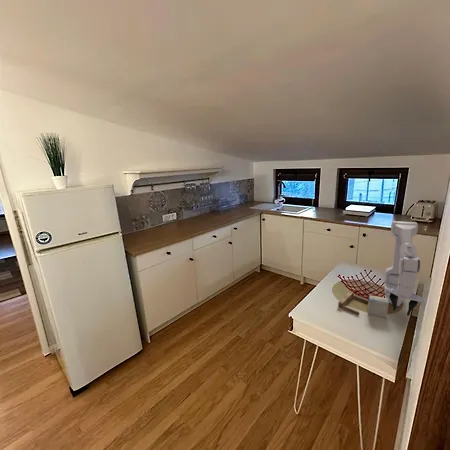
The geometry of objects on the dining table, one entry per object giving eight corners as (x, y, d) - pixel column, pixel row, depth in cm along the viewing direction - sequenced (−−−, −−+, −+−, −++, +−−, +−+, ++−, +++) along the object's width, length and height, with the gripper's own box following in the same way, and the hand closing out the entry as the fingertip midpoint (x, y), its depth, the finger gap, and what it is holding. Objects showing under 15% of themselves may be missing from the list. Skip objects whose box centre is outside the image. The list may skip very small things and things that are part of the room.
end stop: (349, 295, 141) (350, 290, 140) (369, 302, 134) (369, 297, 133) (338, 306, 133) (338, 301, 132) (358, 315, 125) (358, 310, 124)
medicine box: (385, 312, 126) (387, 297, 123) (386, 318, 122) (389, 302, 119) (367, 309, 129) (369, 294, 126) (367, 314, 125) (369, 299, 123)
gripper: (383, 282, 109) (379, 309, 113) (425, 294, 98) (419, 324, 102) (388, 275, 113) (385, 302, 117) (429, 287, 103) (424, 315, 107)
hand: (401, 311), depth 110 cm, fingers open, 4 cm apart
